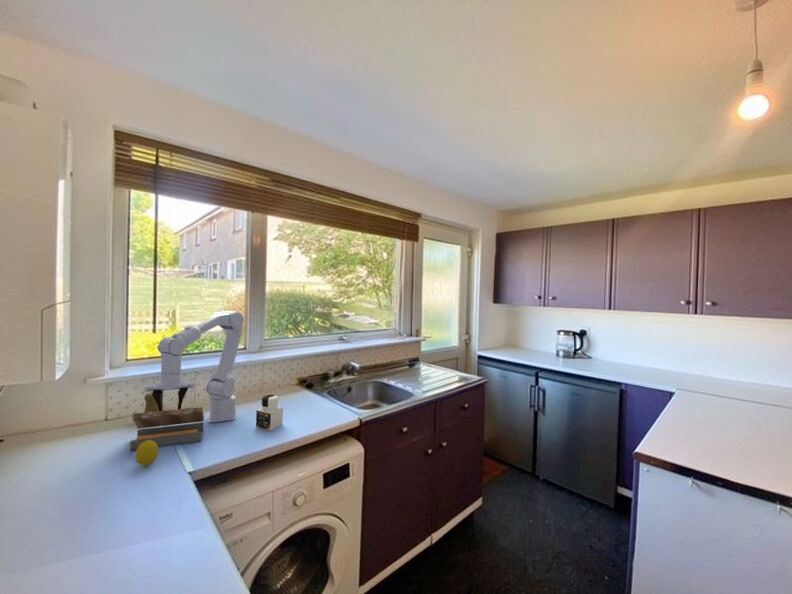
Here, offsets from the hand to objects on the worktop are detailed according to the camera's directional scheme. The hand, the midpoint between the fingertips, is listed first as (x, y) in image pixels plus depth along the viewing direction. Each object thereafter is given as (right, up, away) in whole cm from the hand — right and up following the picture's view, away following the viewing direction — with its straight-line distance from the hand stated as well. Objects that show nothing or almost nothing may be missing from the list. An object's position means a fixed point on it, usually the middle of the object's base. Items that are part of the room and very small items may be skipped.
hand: (170, 410), depth 119 cm
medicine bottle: (+29, -12, +15) cm, 35 cm away
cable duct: (0, -10, 0) cm, 10 cm away
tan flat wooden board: (0, -4, 0) cm, 4 cm away
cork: (-17, -9, +15) cm, 25 cm away
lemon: (+4, -12, -17) cm, 21 cm away
